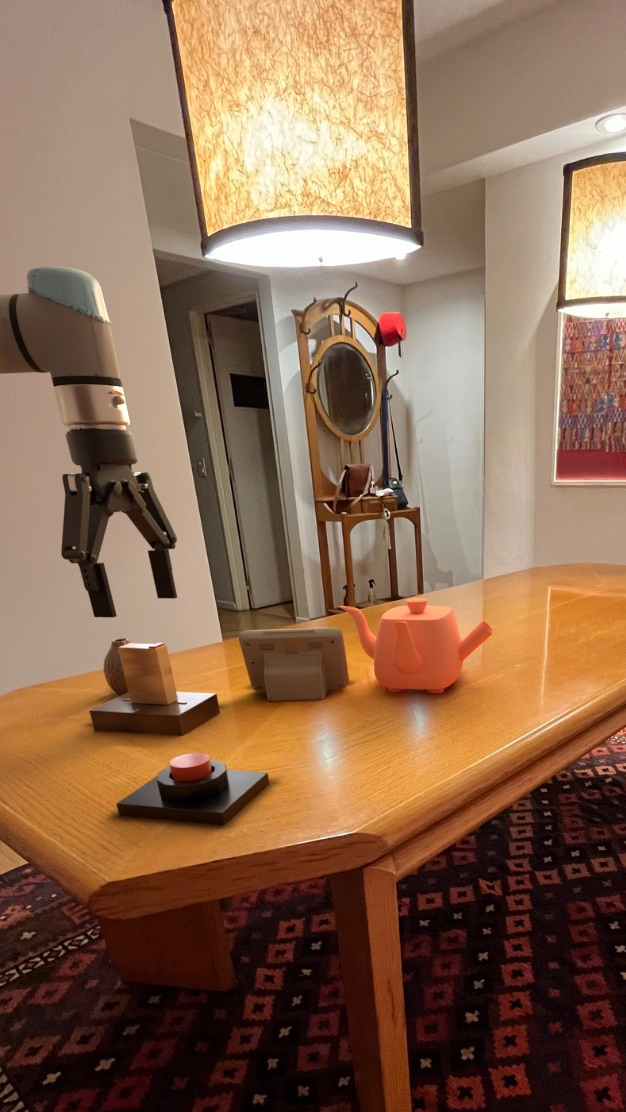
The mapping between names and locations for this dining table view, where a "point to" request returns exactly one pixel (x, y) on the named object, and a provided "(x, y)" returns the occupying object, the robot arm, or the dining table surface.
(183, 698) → the panel
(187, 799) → the button block
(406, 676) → the teapot
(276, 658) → the digital clock
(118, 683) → the vase
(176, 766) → the button
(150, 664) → the handle
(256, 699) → the dining table surface
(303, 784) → the dining table surface
